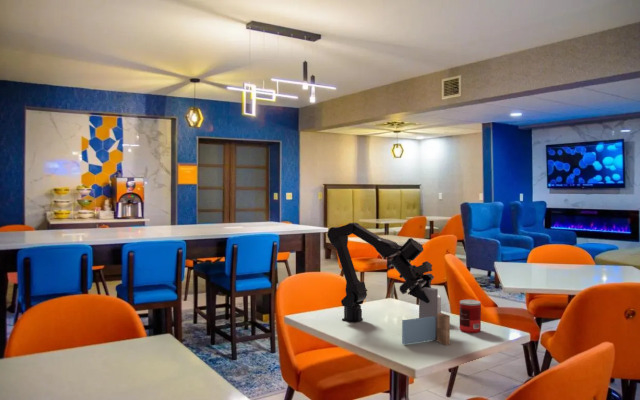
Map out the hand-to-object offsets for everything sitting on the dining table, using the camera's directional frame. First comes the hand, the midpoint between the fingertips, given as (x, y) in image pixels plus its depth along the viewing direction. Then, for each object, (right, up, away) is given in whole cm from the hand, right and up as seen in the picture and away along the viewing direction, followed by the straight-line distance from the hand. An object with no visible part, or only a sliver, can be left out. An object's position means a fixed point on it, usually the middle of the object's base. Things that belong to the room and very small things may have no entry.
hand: (431, 301), depth 182 cm
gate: (-6, -12, -10) cm, 17 cm away
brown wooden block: (+2, -12, -11) cm, 16 cm away
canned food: (+16, -12, +6) cm, 21 cm away
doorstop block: (-1, -7, +1) cm, 7 cm away
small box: (+4, -12, +20) cm, 24 cm away
